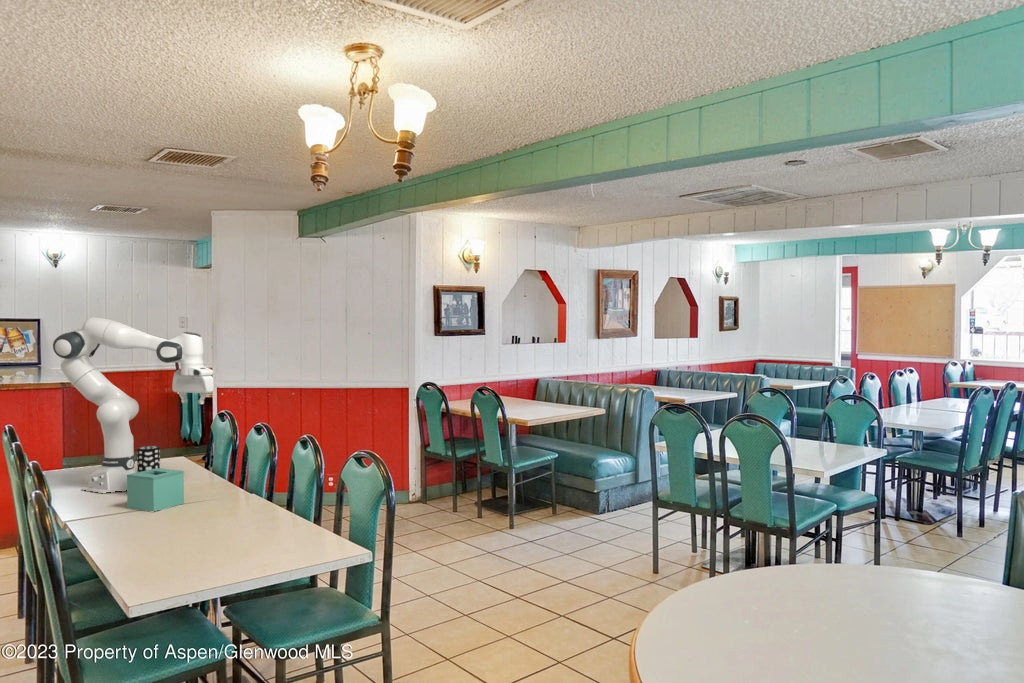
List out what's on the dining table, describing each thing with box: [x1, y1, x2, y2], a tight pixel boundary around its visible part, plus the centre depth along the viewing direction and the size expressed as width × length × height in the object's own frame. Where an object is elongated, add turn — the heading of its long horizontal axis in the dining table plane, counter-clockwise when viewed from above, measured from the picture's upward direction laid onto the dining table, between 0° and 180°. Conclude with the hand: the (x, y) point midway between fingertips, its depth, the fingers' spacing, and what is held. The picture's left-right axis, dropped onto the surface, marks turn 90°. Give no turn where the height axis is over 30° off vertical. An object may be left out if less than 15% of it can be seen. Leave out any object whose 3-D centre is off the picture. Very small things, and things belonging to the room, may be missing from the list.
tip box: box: [126, 467, 185, 512], centre depth 283 cm, size 14×14×13 cm
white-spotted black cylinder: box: [136, 445, 161, 473], centre depth 300 cm, size 8×8×20 cm
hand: (192, 403), depth 308 cm, fingers open, 8 cm apart
